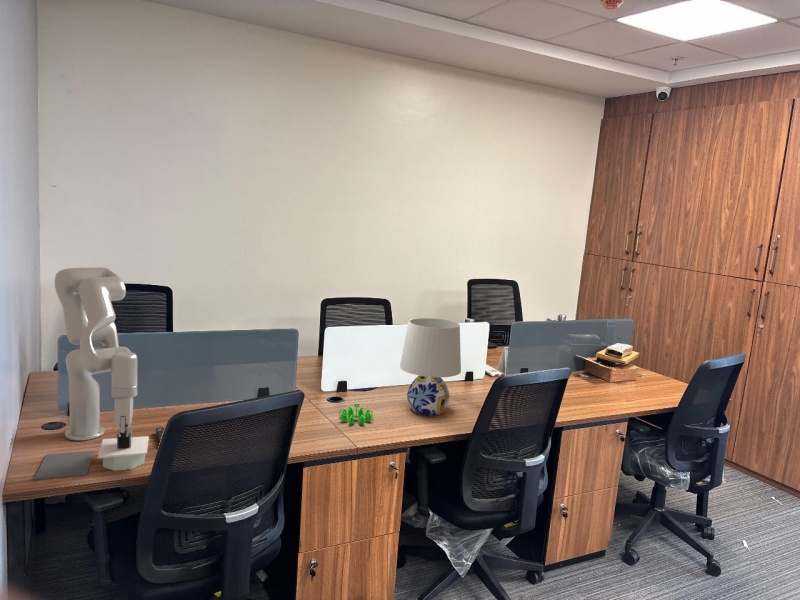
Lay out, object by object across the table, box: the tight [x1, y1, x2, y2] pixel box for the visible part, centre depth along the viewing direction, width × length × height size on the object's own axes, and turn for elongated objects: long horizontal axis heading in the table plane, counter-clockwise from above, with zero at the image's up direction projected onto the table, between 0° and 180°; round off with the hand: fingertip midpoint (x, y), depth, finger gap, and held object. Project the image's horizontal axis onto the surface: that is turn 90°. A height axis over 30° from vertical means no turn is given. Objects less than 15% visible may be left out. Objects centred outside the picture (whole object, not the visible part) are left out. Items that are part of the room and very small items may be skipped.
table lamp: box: [399, 317, 462, 417], centre depth 261 cm, size 27×27×40 cm
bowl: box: [102, 455, 146, 472], centre depth 192 cm, size 12×12×5 cm
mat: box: [33, 450, 95, 481], centre depth 187 cm, size 18×14×1 cm
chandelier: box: [338, 403, 374, 427], centre depth 244 cm, size 15×15×7 cm
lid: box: [97, 428, 150, 459], centre depth 191 cm, size 14×14×6 cm
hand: (124, 444), depth 191 cm, fingers closed on lid, 4 cm apart
